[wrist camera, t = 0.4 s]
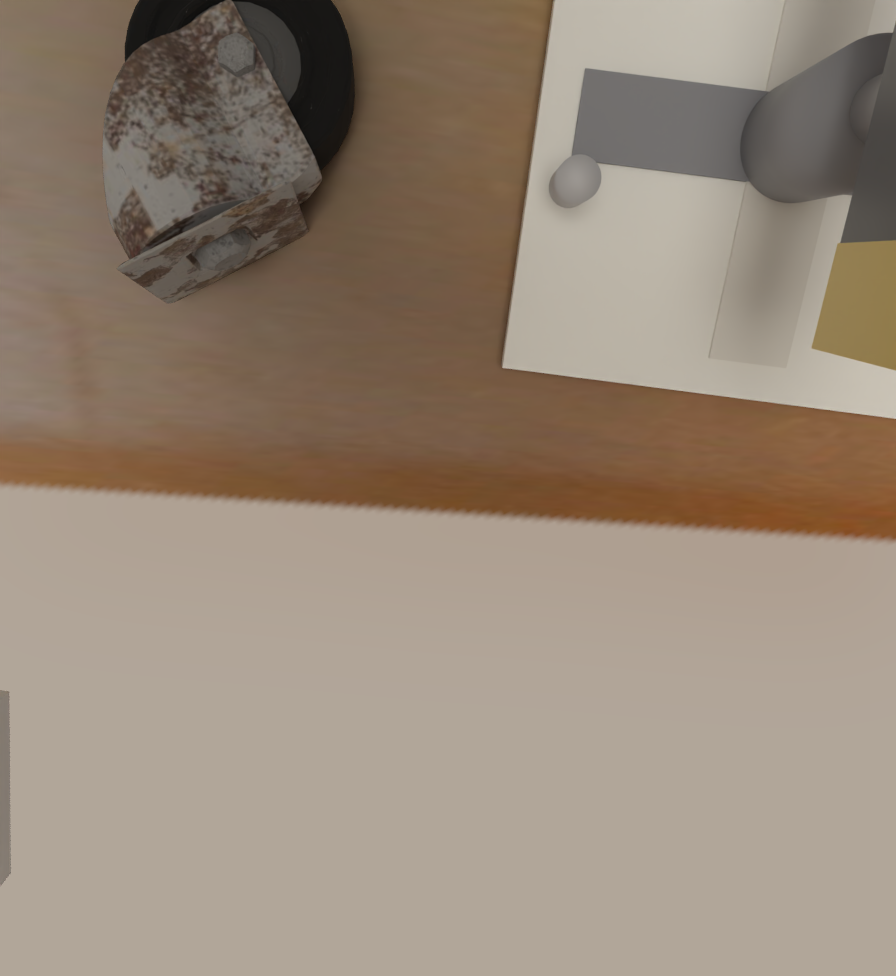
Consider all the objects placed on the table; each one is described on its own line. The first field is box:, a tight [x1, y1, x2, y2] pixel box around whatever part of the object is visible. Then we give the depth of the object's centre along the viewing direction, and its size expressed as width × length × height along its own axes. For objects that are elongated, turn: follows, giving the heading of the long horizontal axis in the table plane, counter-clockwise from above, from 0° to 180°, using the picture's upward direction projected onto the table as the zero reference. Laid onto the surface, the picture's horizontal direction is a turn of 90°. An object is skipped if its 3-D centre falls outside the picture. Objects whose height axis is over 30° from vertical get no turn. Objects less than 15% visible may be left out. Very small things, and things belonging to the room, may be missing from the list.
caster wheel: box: [103, 0, 355, 303], centre depth 30 cm, size 7×11×10 cm
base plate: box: [502, 0, 896, 419], centre depth 28 cm, size 20×20×8 cm
